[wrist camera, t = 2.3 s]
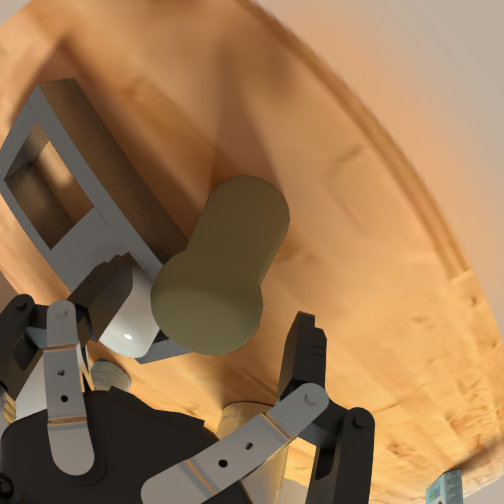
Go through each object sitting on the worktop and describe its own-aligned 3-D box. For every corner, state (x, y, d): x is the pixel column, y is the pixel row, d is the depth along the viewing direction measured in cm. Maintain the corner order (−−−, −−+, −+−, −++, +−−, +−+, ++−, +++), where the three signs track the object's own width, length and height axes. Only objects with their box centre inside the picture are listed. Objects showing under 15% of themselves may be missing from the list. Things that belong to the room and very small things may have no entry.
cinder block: (240, 308, 26) (229, 342, 23) (155, 336, 31) (140, 364, 28) (73, 77, 18) (37, 84, 14) (17, 159, 22) (-11, 173, 19)
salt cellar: (193, 291, 26) (162, 351, 21) (153, 308, 29) (121, 361, 23) (153, 242, 24) (109, 295, 19) (116, 265, 27) (74, 314, 21)
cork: (256, 158, 19) (199, 245, 10) (306, 230, 21) (293, 355, 12) (189, 203, 22) (107, 301, 13) (238, 264, 24) (191, 381, 15)
